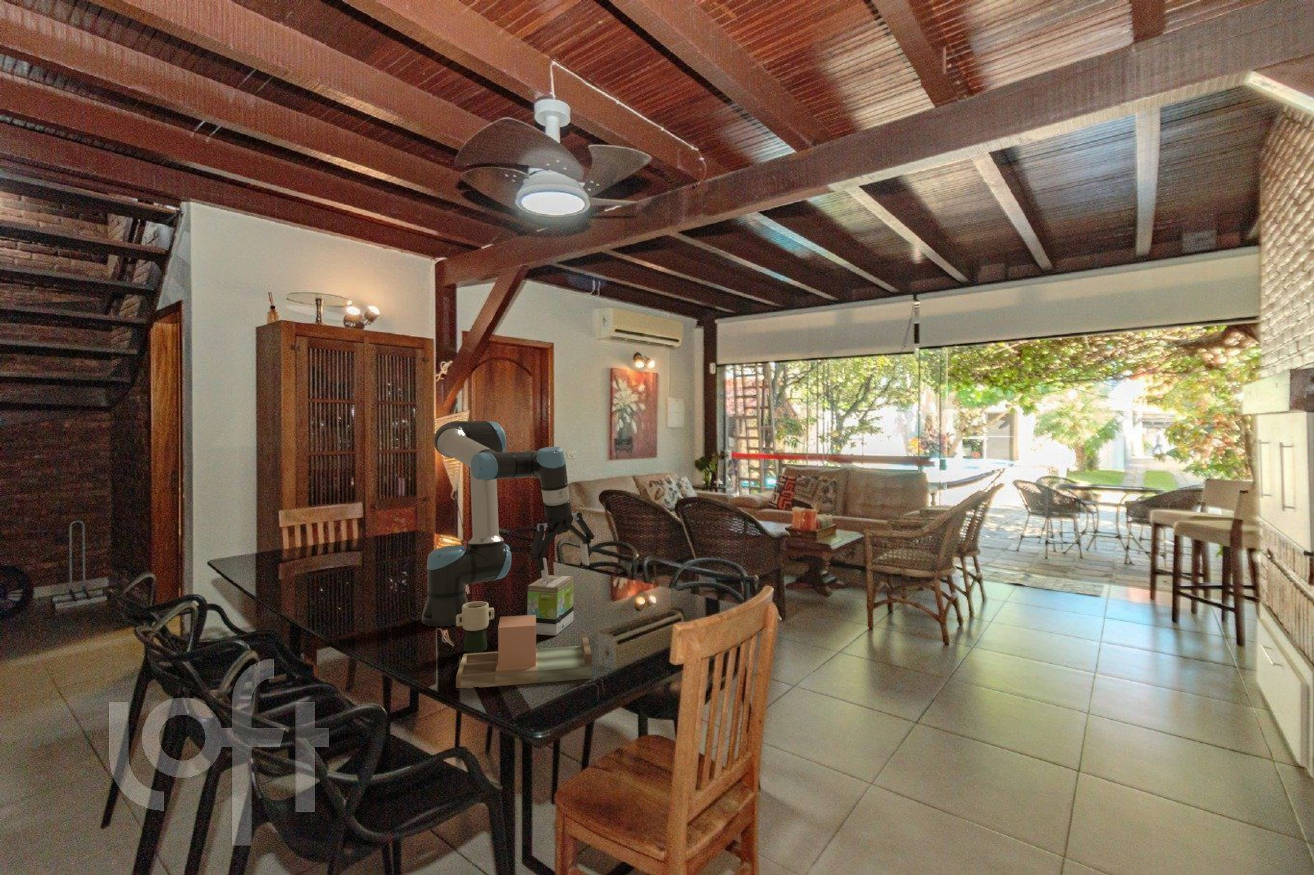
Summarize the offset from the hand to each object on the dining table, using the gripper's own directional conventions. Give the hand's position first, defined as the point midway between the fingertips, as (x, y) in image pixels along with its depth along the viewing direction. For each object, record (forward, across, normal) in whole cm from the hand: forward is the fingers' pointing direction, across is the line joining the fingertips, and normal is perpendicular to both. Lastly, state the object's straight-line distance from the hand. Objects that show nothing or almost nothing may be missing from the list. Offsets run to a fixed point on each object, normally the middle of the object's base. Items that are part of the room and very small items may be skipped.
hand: (566, 571), depth 176 cm
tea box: (+22, -1, +12) cm, 25 cm away
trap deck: (+15, -23, -14) cm, 31 cm away
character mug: (+16, -27, +8) cm, 33 cm away
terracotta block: (+12, -24, -13) cm, 30 cm away
